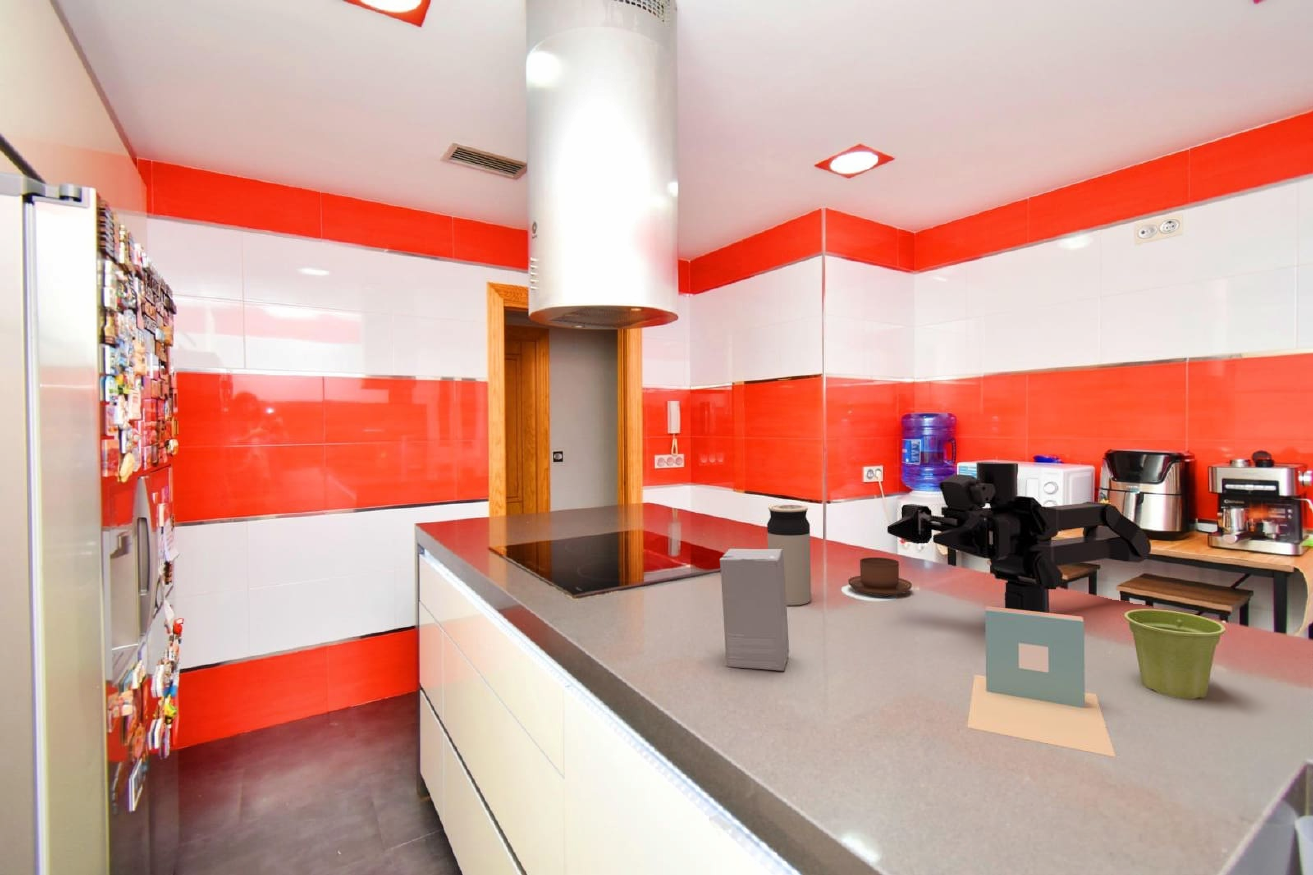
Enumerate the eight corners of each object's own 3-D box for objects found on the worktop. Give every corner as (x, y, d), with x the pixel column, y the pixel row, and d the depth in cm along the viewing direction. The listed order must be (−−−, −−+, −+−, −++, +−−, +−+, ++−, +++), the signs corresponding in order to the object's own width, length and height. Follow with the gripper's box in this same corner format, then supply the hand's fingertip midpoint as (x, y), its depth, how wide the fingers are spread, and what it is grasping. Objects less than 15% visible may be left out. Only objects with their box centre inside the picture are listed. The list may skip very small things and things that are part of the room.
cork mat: (974, 677, 81) (974, 674, 81) (1095, 696, 74) (1095, 694, 74) (967, 730, 67) (967, 727, 67) (1115, 760, 60) (1115, 757, 60)
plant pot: (1235, 714, 69) (1234, 638, 69) (1129, 697, 74) (1129, 625, 74) (1215, 684, 77) (1214, 615, 77) (1121, 670, 82) (1120, 605, 82)
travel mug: (816, 598, 119) (815, 505, 119) (802, 609, 112) (801, 510, 112) (777, 593, 123) (776, 503, 123) (762, 603, 117) (760, 508, 116)
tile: (986, 685, 77) (985, 606, 77) (1083, 701, 72) (1082, 616, 72) (986, 691, 76) (985, 610, 75) (1084, 708, 71) (1084, 621, 70)
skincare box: (789, 656, 89) (787, 547, 89) (783, 675, 82) (780, 557, 82) (732, 650, 92) (730, 545, 92) (721, 668, 85) (719, 554, 85)
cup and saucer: (836, 587, 127) (835, 557, 127) (885, 582, 131) (884, 553, 131) (873, 602, 116) (872, 570, 116) (925, 596, 119) (925, 564, 119)
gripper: (937, 473, 108) (866, 477, 102) (1038, 480, 91) (960, 486, 85) (938, 536, 108) (867, 544, 103) (1039, 555, 91) (961, 566, 85)
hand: (909, 534), depth 94 cm, fingers open, 9 cm apart
